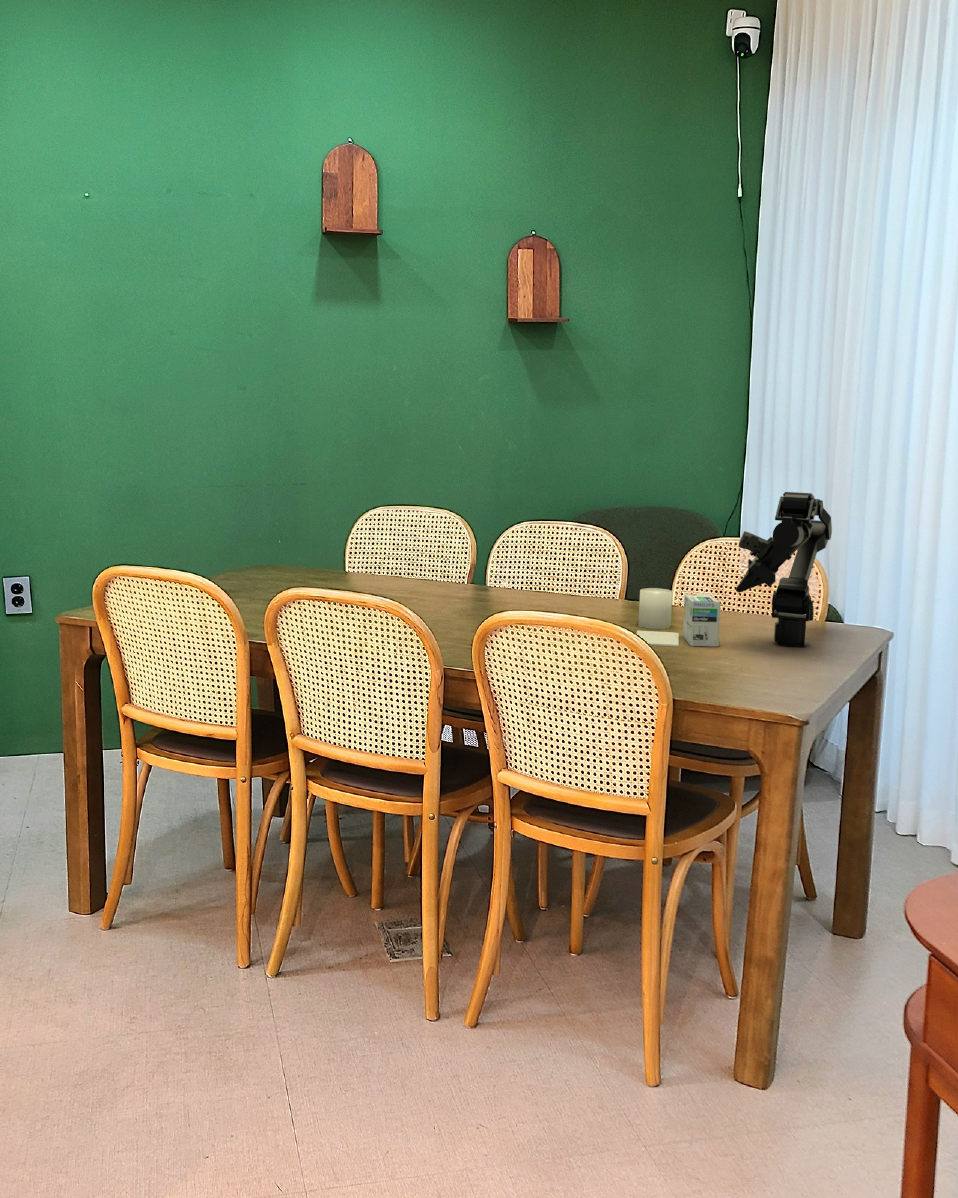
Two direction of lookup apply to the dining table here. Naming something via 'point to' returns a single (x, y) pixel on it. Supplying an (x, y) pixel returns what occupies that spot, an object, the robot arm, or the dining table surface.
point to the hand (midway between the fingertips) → (737, 591)
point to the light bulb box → (701, 620)
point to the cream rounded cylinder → (655, 608)
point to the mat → (660, 638)
